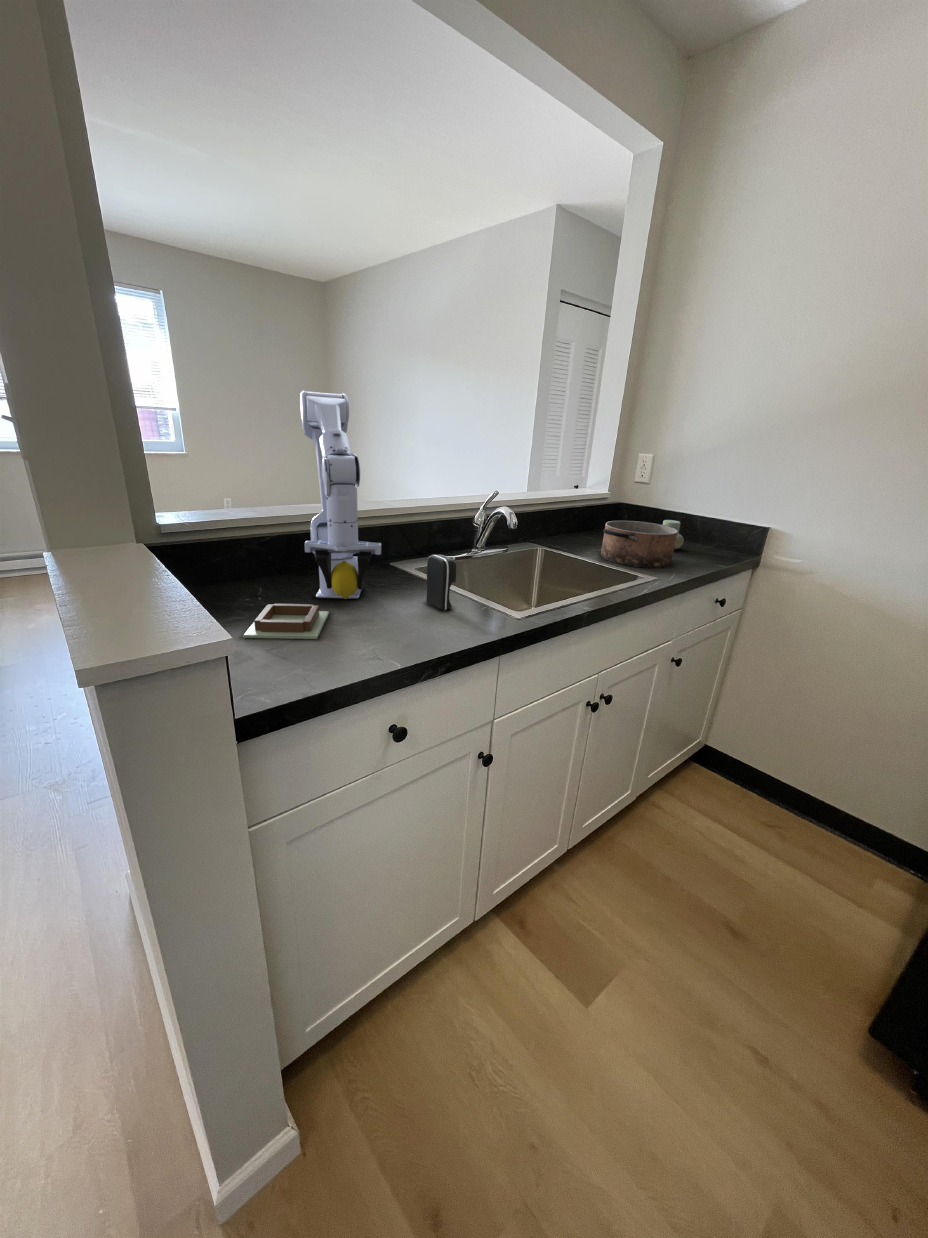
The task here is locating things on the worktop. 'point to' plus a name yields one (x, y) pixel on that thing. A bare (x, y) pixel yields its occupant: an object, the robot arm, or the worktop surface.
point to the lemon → (344, 579)
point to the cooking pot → (638, 543)
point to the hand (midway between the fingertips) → (344, 587)
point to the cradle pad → (288, 622)
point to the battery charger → (440, 580)
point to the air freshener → (679, 538)
